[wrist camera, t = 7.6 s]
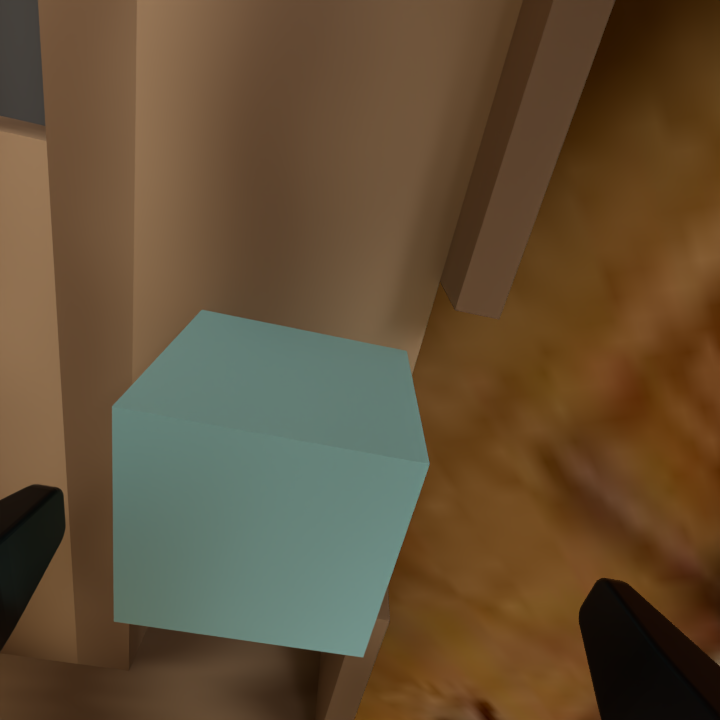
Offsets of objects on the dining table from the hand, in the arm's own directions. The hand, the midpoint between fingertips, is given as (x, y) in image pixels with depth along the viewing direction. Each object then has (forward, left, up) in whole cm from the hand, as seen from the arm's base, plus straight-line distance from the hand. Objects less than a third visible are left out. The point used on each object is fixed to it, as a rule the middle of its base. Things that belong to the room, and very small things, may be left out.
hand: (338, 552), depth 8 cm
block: (+1, 0, -4) cm, 4 cm away
